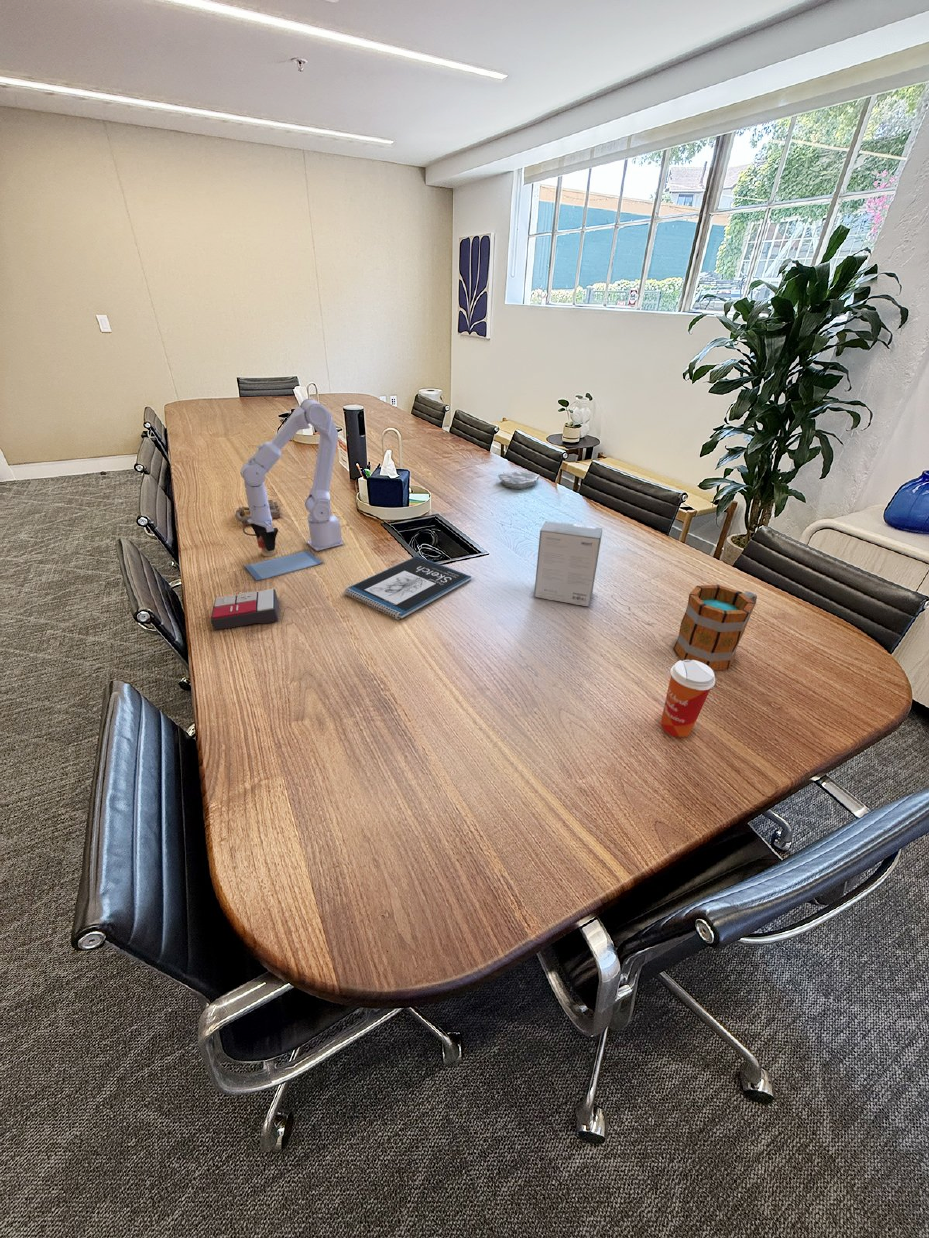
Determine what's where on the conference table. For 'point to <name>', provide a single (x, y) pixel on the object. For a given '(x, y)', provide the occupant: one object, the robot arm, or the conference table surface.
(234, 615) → the grey and red box
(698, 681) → the paper cup
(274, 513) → the telephone
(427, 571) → the sketchbook
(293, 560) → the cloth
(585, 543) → the hard drive box
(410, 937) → the conference table surface
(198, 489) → the conference table surface
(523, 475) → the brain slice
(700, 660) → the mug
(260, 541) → the mushroom
